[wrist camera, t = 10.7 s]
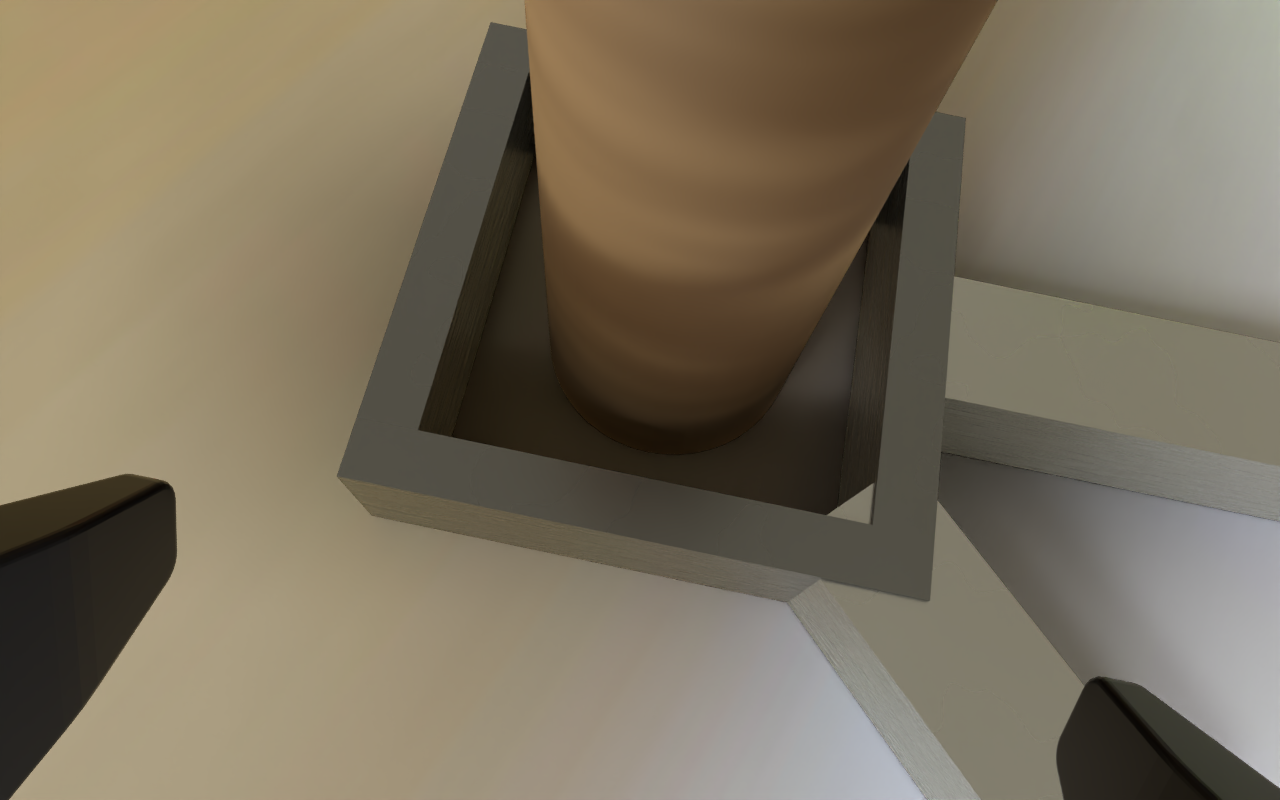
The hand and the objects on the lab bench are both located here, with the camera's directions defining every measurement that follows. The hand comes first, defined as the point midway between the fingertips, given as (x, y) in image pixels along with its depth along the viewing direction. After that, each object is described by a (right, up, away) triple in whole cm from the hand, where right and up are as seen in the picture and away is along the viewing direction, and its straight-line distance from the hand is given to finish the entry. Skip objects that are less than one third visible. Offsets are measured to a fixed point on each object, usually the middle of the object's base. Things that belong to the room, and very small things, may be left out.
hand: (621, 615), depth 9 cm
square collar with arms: (+4, 0, +8) cm, 9 cm away
